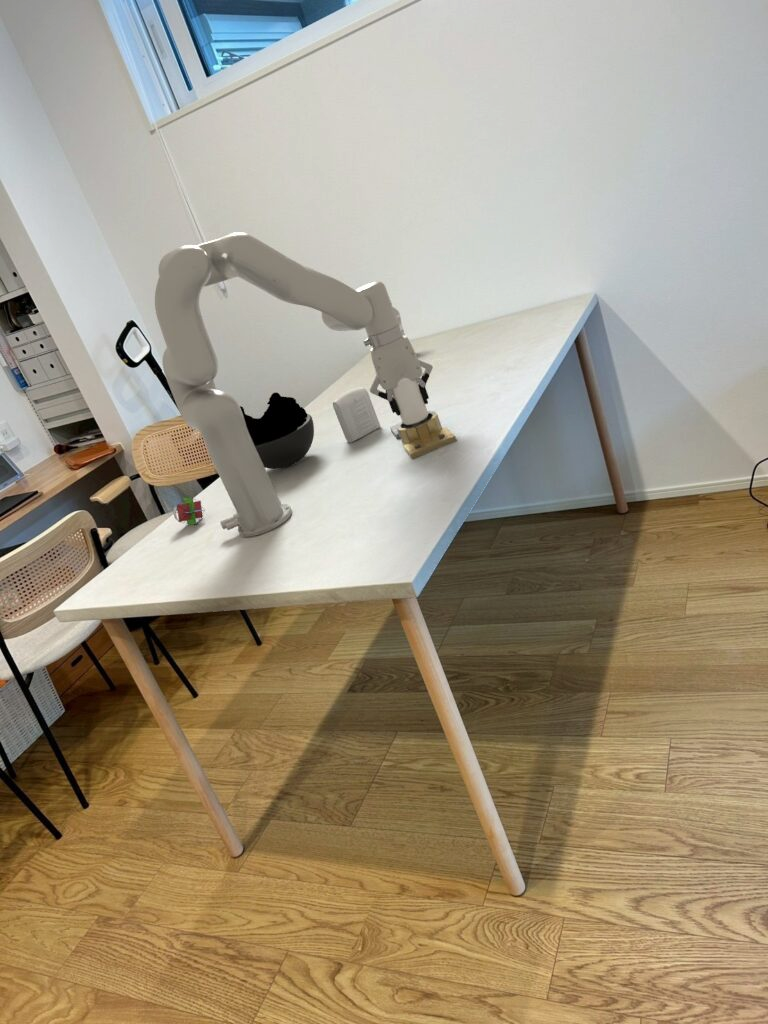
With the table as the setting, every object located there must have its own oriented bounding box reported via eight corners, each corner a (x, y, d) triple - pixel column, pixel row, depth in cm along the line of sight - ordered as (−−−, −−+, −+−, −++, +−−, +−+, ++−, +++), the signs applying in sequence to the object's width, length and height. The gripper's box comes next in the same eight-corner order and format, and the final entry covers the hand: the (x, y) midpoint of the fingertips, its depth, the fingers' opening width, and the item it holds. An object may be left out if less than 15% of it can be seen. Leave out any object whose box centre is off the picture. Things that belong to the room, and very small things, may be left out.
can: (399, 427, 187) (381, 381, 183) (410, 416, 192) (393, 370, 187) (422, 423, 183) (405, 375, 179) (433, 412, 188) (416, 365, 184)
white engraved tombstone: (375, 425, 211) (358, 382, 207) (383, 426, 208) (367, 383, 203) (344, 442, 207) (327, 399, 203) (352, 443, 204) (334, 400, 199)
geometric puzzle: (200, 503, 197) (173, 491, 192) (215, 503, 192) (189, 491, 187) (190, 530, 195) (163, 518, 190) (206, 531, 190) (179, 519, 185)
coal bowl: (340, 444, 207) (313, 378, 200) (293, 480, 194) (263, 411, 187) (287, 450, 220) (260, 388, 213) (240, 485, 206) (209, 420, 199)
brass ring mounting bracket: (411, 459, 177) (405, 443, 176) (391, 431, 201) (386, 417, 200) (456, 440, 177) (451, 424, 176) (431, 414, 201) (426, 400, 200)
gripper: (353, 354, 176) (380, 426, 183) (424, 324, 177) (449, 397, 183) (348, 349, 183) (375, 418, 190) (417, 321, 184) (441, 391, 190)
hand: (411, 407), depth 186 cm, fingers closed on can, 6 cm apart
